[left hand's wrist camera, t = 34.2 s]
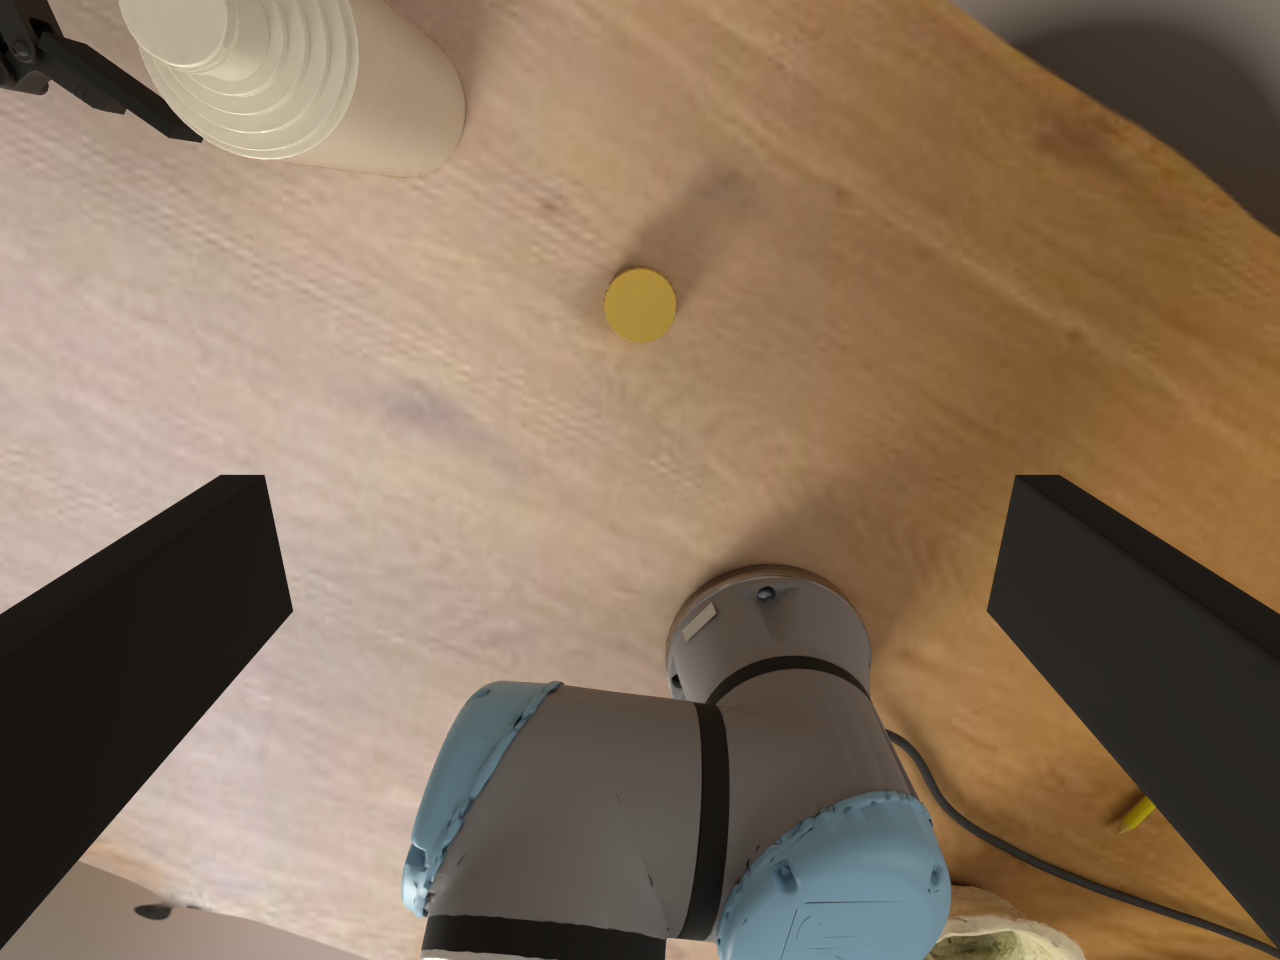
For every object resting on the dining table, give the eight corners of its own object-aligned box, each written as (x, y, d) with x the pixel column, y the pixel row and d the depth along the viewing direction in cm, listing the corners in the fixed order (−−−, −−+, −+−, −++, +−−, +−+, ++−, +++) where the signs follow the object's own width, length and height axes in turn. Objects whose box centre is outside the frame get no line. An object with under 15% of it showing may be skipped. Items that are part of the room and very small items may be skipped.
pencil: (1248, 688, 55) (1258, 696, 54) (1257, 693, 55) (1268, 701, 54) (1108, 828, 60) (1115, 838, 59) (1117, 832, 60) (1124, 842, 59)
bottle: (298, 99, 40) (-18, -4, 21) (387, -13, 38) (128, -240, 19) (404, 207, 42) (207, 205, 23) (494, 107, 40) (359, 13, 21)
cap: (687, 320, 44) (688, 324, 43) (623, 349, 45) (622, 355, 44) (658, 253, 43) (658, 255, 41) (592, 284, 44) (590, 287, 42)
